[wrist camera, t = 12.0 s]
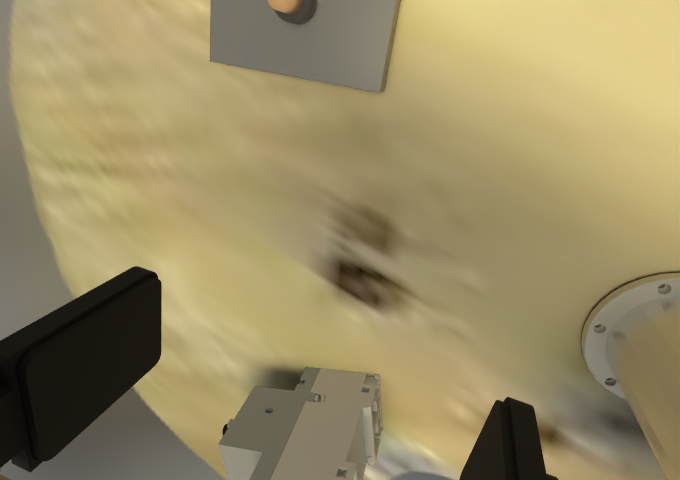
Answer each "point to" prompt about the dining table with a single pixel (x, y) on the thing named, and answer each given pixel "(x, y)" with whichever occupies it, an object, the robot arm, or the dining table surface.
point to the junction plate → (307, 38)
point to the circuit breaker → (306, 429)
